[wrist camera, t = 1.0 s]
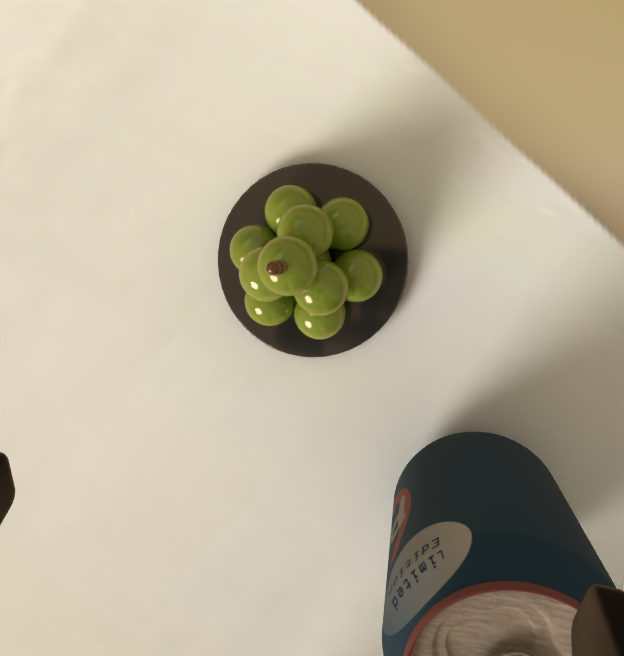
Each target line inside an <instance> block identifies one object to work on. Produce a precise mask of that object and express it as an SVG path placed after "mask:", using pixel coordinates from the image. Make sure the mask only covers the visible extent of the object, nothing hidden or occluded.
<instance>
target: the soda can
mask: <svg viewBox="0 0 624 656" xmlns="http://www.w3.org/2000/svg"><path fill="white" fill-rule="evenodd" d="M594 584H598V585H603V586H607V587H612V588H616V587H615V585H614V583H613V581H612V580H611V578H610V576H609V574H608V573H607V571H606V569H605V567H604V566H603V564H602V562H601V560H600V559H599V557H598V555H597V553H596V552H595V550H594V548H593V546H592V545H591V543H590V541H589V539H588V538H587V536H586V534H585V532H584V531H583V529H582V527H581V525H580V524H579V522H578V520H577V518H576V517H575V515H574V513H573V511H572V510H571V508H570V506H569V504H568V503H567V501H566V499H565V497H564V496H563V494H562V492H561V490H560V489H559V487H558V485H557V483H556V482H555V480H554V478H553V477H552V475H551V473H550V472H549V470H548V469H547V467H546V466H545V465H544V464H543V462H542V461H541V460H540V459H539V458H538V457H537V456H536V455H534V454H533V453H532V452H531V451H530V450H528V449H527V448H525V447H524V446H522V445H521V444H519V443H517V442H515V441H513V440H511V439H508V438H506V437H503V436H500V435H496V434H491V433H484V432H464V433H457V434H453V435H449V436H446V437H443V438H441V439H438V440H436V441H434V442H432V443H431V444H429V445H427V446H426V447H425V448H423V449H422V450H421V451H419V452H418V453H417V454H416V455H415V456H414V457H413V458H412V459H411V461H410V462H409V463H408V464H407V466H406V467H405V469H404V471H403V472H402V474H401V476H400V478H399V481H398V484H397V487H396V490H395V496H394V505H393V516H392V527H391V538H390V549H389V560H388V572H387V583H386V594H385V605H384V616H383V627H382V646H383V653H384V656H572V644H571V627H572V622H573V619H574V616H575V614H576V612H577V610H578V608H579V606H580V604H581V602H582V600H583V598H584V596H585V594H586V592H587V590H588V589H589V587H590V586H592V585H594ZM616 589H617V588H616Z"/></svg>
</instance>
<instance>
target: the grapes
mask: <svg viewBox="0 0 624 656" xmlns="http://www.w3.org/2000/svg"><path fill="white" fill-rule="evenodd" d="M218 268H219V277H220V281H221V285H222V289H223V292H224V295H225V297H226V300H227V302H228V304H229V306H230V308H231V310H232V311H233V313H234V314H235V316H236V317H237V319H238V320H239V321H240V322H241V324H242V325H243V326H244V327H245V328H246V329H247V330H248V331H249V332H250V333H251V334H252V335H254V336H255V337H256V338H257V339H259V340H260V341H262V342H263V343H265V344H266V345H268V346H270V347H272V348H274V349H276V350H279V351H282V352H285V353H288V354H292V355H296V356H303V357H325V356H330V355H336V354H339V353H342V352H345V351H348V350H350V349H352V348H354V347H356V346H359V345H360V344H362V343H363V342H365V341H366V340H368V339H369V338H371V337H372V336H373V335H374V334H375V333H376V332H378V331H379V330H380V329H381V327H382V326H383V325H384V324H385V323H386V322H387V321H388V319H389V318H390V316H391V315H392V313H393V312H394V310H395V308H396V306H397V304H398V302H399V300H400V298H401V295H402V292H403V290H404V287H405V282H406V277H407V270H408V250H407V244H406V239H405V234H404V231H403V228H402V225H401V223H400V221H399V219H398V217H397V215H396V213H395V211H394V209H393V208H392V206H391V205H390V203H389V202H388V200H387V199H386V198H385V197H384V196H383V195H382V194H381V193H380V191H379V190H378V189H376V188H375V187H374V186H373V185H372V184H371V183H369V182H368V181H367V180H365V179H363V178H362V177H360V176H359V175H357V174H355V173H353V172H351V171H348V170H346V169H343V168H340V167H337V166H333V165H327V164H318V163H306V164H298V165H293V166H289V167H285V168H282V169H279V170H277V171H274V172H272V173H270V174H268V175H267V176H265V177H263V178H261V179H260V180H259V181H257V182H256V183H255V184H253V185H252V186H251V187H250V188H249V189H248V190H247V191H246V192H245V193H244V194H243V195H242V196H241V197H240V199H239V200H238V201H237V203H236V204H235V205H234V207H233V209H232V210H231V212H230V214H229V215H228V218H227V220H226V222H225V225H224V227H223V231H222V234H221V238H220V243H219V250H218Z"/></svg>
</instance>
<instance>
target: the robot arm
mask: <svg viewBox="0 0 624 656" xmlns="http://www.w3.org/2000/svg"><path fill="white" fill-rule="evenodd" d="M14 497H15V486H14V482H13V477H12V473H11V469H10V464H9V460H8V458H7V456H6V455H5V454H4V453H1V452H0V525H1V523H2V521H3V519H4V518H5V516H6V514H7V512H8V511H9V509H10V507H11V505H12V503H13V500H14ZM571 644H572V656H624V592H623V591H622V590H620V589H616V588H612V587H607V586H603V585H598V584H594V585H592V586H590V587H589V589H588V590H587V592H586V594H585V596H584V598H583V600H582V602H581V604H580V606H579V608H578V610H577V612H576V614H575V616H574V619H573V622H572V627H571Z"/></svg>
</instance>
